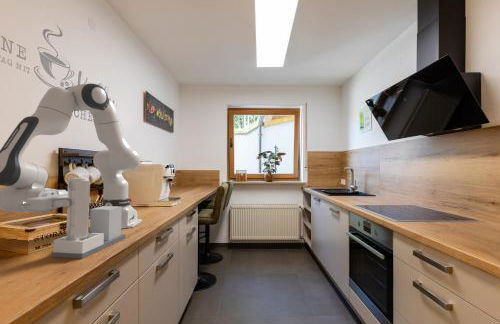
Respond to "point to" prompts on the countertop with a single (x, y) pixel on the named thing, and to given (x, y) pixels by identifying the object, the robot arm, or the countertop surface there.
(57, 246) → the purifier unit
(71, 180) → the white upright block
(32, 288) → the countertop surface
